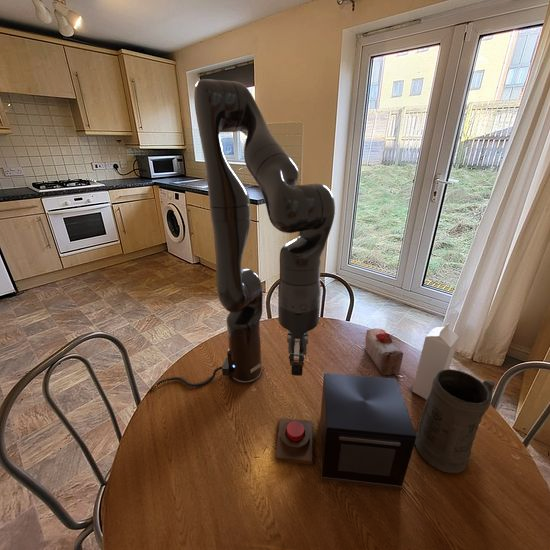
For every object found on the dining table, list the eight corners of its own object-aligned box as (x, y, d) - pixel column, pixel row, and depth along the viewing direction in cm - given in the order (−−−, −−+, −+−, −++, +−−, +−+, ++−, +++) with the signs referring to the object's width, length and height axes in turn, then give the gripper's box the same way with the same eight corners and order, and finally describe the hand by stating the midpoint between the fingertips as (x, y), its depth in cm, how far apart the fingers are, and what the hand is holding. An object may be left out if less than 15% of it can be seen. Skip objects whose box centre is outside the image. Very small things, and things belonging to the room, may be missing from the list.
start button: (285, 441, 66) (285, 435, 65) (287, 425, 70) (287, 420, 69) (303, 442, 66) (303, 437, 65) (304, 427, 69) (304, 422, 68)
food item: (360, 347, 99) (363, 323, 95) (382, 345, 100) (386, 321, 96) (379, 376, 87) (384, 350, 83) (404, 373, 88) (410, 347, 84)
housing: (275, 460, 65) (275, 451, 63) (280, 421, 74) (280, 412, 72) (311, 464, 64) (312, 455, 62) (312, 424, 73) (312, 415, 71)
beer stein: (444, 485, 60) (476, 413, 52) (402, 441, 68) (423, 374, 60) (486, 454, 66) (520, 387, 59) (443, 418, 75) (467, 355, 67)
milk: (442, 392, 82) (463, 326, 72) (433, 404, 78) (454, 336, 69) (420, 380, 86) (437, 316, 76) (411, 391, 82) (428, 325, 73)
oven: (321, 481, 61) (326, 428, 54) (320, 421, 73) (323, 373, 67) (401, 490, 59) (417, 437, 52) (385, 427, 72) (396, 378, 65)
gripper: (281, 282, 59) (281, 350, 66) (274, 318, 47) (275, 397, 54) (319, 284, 58) (315, 353, 65) (321, 321, 46) (315, 400, 54)
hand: (296, 373), depth 60 cm, fingers closed
